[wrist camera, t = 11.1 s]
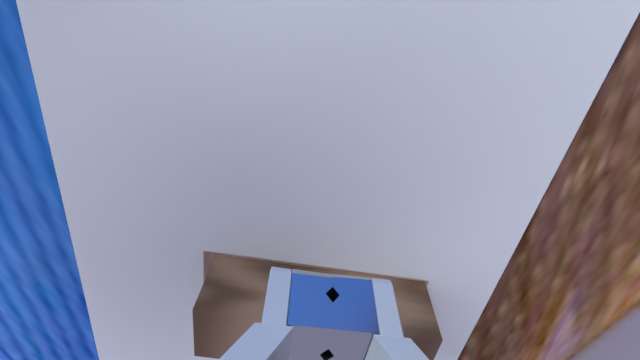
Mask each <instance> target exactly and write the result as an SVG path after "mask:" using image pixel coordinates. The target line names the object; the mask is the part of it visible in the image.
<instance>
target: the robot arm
mask: <svg viewBox="0 0 640 360" xmlns="http://www.w3.org/2000/svg"><path fill="white" fill-rule="evenodd" d="M219 360H429V359H428V358H427V356H426V355H425V354H424V353H423V352H422V351H421V350H420V348H419V347H418V346H417V345H416V344H415V343H414V342H413V341H412V339H411V338H406V337H404V334H403V330H402V325H401V321H400V316H399V312H398V307H397V303H396V298H395V294H394V289H393V285H392V282H391V281H390V280H387V279H377V278H367V277H357V276H348V275H338V274H326V273H319V272H311V271H304V270H297V269H292V270H291V269H286V268H279V267H271V270H270V274H269V280H268V286H267V292H266V298H265V304H264V310H263V316H262V323H254V324H253V325H252V326H251V327H250V328H249V329H248V330H247V331H246V332H245V333H244V334H243V335H242V336H241V337H240V338H239V339H238V340H237V341H236V342H235V343H234V344H233V345H232V346H231V348H230V349H229V350H228V351H227V352H226V353H225V354H224V355H223V356H222V357H221V358H220V359H219Z"/></svg>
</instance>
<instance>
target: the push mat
mask: <svg viewBox="0 0 640 360" xmlns="http://www.w3.org/2000/svg"><path fill="white" fill-rule="evenodd" d="M16 3H17V7H18V11H19V16H20V20H21V24H22V29H23V33H24V37H25V42H26V46H27V50H28V55H29V59H30V63H31V67H32V72H33V76H34V80H35V85H36V89H37V93H38V98H39V102H40V106H41V111H42V115H43V119H44V123H45V128H46V132H47V136H48V141H49V145H50V149H51V154H52V158H53V162H54V167H55V171H56V175H57V179H58V184H59V188H60V192H61V197H62V201H63V205H64V210H65V214H66V218H67V222H68V227H69V231H70V235H71V240H72V244H73V248H74V253H75V257H76V261H77V266H78V270H79V274H80V278H81V283H82V287H83V291H84V296H85V300H86V304H87V309H88V313H89V317H90V322H91V326H92V330H93V334H94V339H95V343H96V347H97V352H98V356H99V360H219V359H216V358H208V357H199V356H194V335H193V311H192V310H193V307H194V305H195V302H196V300H197V298H198V295H199V293H200V291H201V288H202V286H203V283H204V281H205V279H206V276H207V274H208V272H209V269H210V267H211V264H212V262H213V260H214V257H215V255H220V256H227V257H235V258H243V259H251V260H259V261H266V262H274V263H282V264H290V265H297V266H305V267H313V268H321V269H329V270H336V271H344V272H352V273H360V274H367V275H375V276H383V277H391V278H399V279H406V280H414V281H422V282H425V283H426V286H427V290H428V293H429V296H430V300H431V303H432V306H433V310H434V313H435V316H436V320H437V323H438V326H439V330H440V333H441V336H442V340H443V341H442V343H441V345H440V347H439V349H438V352H437V354H436V356H435V358H434V360H457V359H458V357H459V355H460V354H461V352H462V350H463V348H464V346H465V344H466V342H467V340H468V338H469V336H470V335H471V333H472V331H473V329H474V327H475V325H476V323H477V321H478V319H479V317H480V315H481V314H482V312H483V310H484V308H485V306H486V304H487V302H488V300H489V298H490V296H491V295H492V293H493V291H494V289H495V287H496V285H497V283H498V281H499V279H500V277H501V275H502V274H503V272H504V270H505V268H506V266H507V264H508V262H509V260H510V258H511V256H512V254H513V253H514V251H515V249H516V247H517V245H518V243H519V241H520V239H521V237H522V235H523V234H524V232H525V230H526V228H527V226H528V224H529V222H530V220H531V218H532V216H533V214H534V213H535V211H536V209H537V207H538V205H539V203H540V201H541V199H542V197H543V195H544V194H545V192H546V190H547V188H548V186H549V184H550V182H551V180H552V178H553V176H554V174H555V173H556V171H557V169H558V167H559V165H560V163H561V161H562V159H563V157H564V155H565V154H566V152H567V150H568V148H569V146H570V144H571V142H572V140H573V138H574V136H575V134H576V133H577V131H578V129H579V127H580V125H581V123H582V121H583V119H584V117H585V115H586V114H587V112H588V110H589V108H590V106H591V104H592V102H593V100H594V98H595V96H596V94H597V93H598V91H599V89H600V87H601V85H602V83H603V81H604V79H605V77H606V75H607V73H608V72H609V70H610V68H611V66H612V64H613V62H614V60H615V58H616V56H617V54H618V53H619V51H620V49H621V47H622V45H623V43H624V41H625V39H626V37H627V35H628V33H629V32H630V30H631V28H632V26H633V24H634V22H635V20H636V18H637V16H638V14H639V13H640V0H16Z"/></svg>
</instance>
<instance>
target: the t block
mask: <svg viewBox="0 0 640 360" xmlns="http://www.w3.org/2000/svg"><path fill="white" fill-rule="evenodd" d="M271 267H279V268H286V269H291V270H292V269H297V270H304V271H311V272H319V273H326V274H338V275H348V276H357V277H367V278H377V279H387V280H390V281H391V282H392V285H393V289H394V294H395V298H396V303H397V307H398V312H399V316H400V321H401V325H402V330H403V334H404V337H406V338H411V339H412V341H413V342H414V343H415V344H416V345H417V346H418V347H419V348H420V350H421V351H422V352H423V353H424V354H425V355H426V356H427V358H428V359H429V360H434V358H435V356H436V354H437V352H438V349H439V347H440V345H441V343H442V341H443V340H442V336H441V333H440V330H439V326H438V323H437V320H436V316H435V313H434V310H433V306H432V303H431V300H430V296H429V293H428V290H427V286H426V283H425V282H422V281H414V280H406V279H399V278H391V277H383V276H375V275H367V274H360V273H352V272H344V271H336V270H329V269H321V268H313V267H305V266H297V265H290V264H282V263H274V262H266V261H259V260H251V259H243V258H235V257H227V256H220V255H215V257H214V260H213V262H212V264H211V267H210V269H209V272H208V274H207V276H206V279H205V281H204V283H203V286H202V288H201V291H200V293H199V295H198V298H197V300H196V302H195V305H194V307H193V310H192V311H193V335H194V356H199V357H208V358H216V359H220V358H221V357H222V356H223V355H224V354H225V353H226V352H227V351H228V350H229V349H230V348H231V346H232V345H233V344H234V343H235V342H236V341H237V340H238V339H239V338H240V337H241V336H242V335H243V334H244V333H245V332H246V331H247V330H248V329H249V328H250V327H251V326H252V325H253V324H254V323H262V316H263V310H264V304H265V298H266V292H267V286H268V280H269V274H270V270H271Z"/></svg>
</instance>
